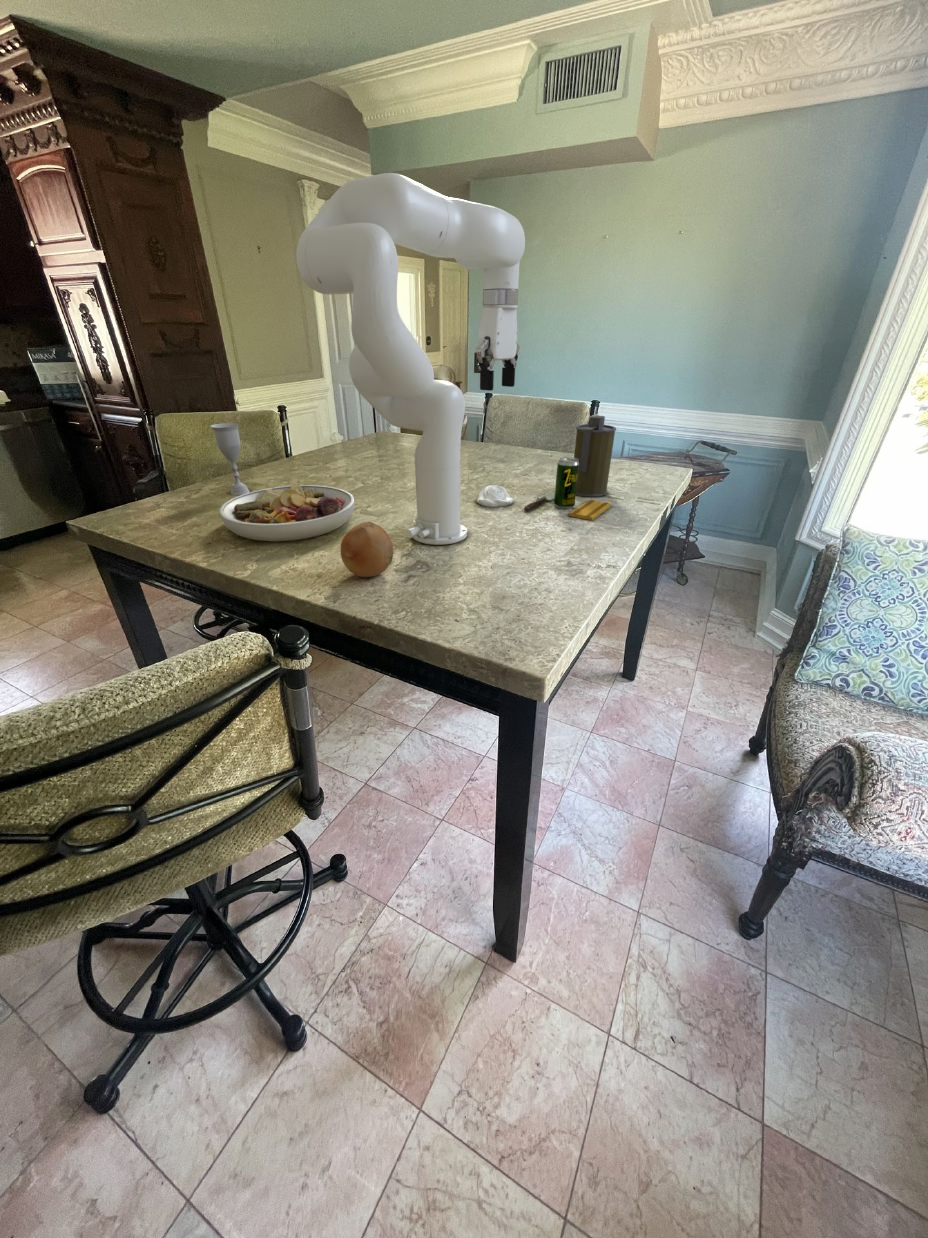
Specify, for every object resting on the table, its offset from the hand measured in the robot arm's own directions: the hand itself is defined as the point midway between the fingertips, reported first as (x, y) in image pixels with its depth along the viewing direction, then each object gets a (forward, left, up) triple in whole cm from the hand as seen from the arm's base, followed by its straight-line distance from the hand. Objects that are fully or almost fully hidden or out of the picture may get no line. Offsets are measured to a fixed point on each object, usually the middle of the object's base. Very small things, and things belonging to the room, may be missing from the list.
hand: (497, 388), depth 116 cm
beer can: (+11, -15, -28) cm, 34 cm away
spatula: (+10, -8, -28) cm, 31 cm away
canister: (+27, -15, -28) cm, 42 cm away
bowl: (-37, +34, -28) cm, 58 cm away
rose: (+4, +2, -28) cm, 29 cm away
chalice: (-28, +67, -28) cm, 78 cm away
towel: (+11, -22, -28) cm, 37 cm away
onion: (-48, -1, -28) cm, 56 cm away
